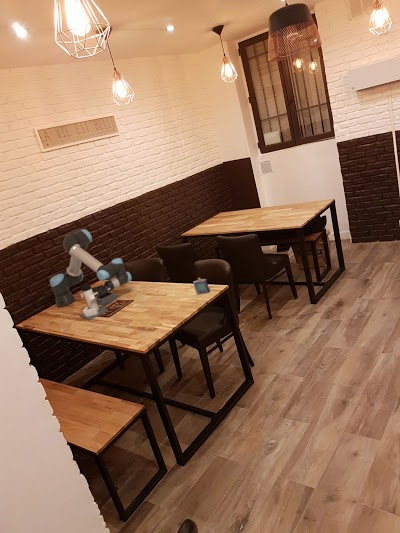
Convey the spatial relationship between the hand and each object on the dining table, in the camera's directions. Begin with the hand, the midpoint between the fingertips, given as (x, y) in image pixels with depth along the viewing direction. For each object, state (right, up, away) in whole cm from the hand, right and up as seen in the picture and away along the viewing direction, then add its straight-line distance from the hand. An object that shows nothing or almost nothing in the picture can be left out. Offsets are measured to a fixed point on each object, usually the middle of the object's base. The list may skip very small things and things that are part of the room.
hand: (85, 297), depth 279 cm
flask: (+81, +3, -14) cm, 82 cm away
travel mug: (+5, -10, +6) cm, 13 cm away
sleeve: (+9, -5, +23) cm, 26 cm away
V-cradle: (+5, -12, +5) cm, 14 cm away
